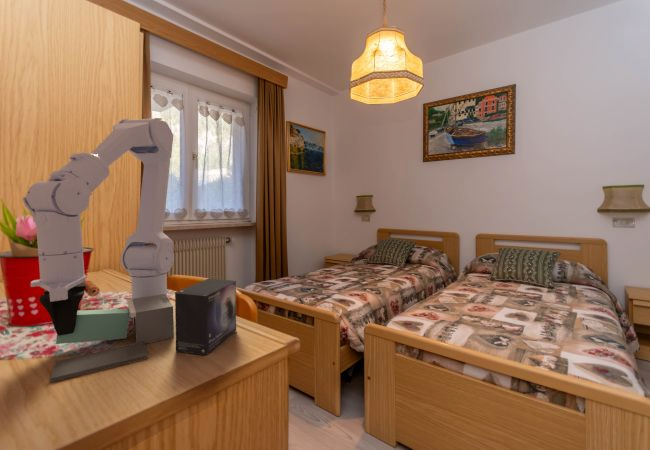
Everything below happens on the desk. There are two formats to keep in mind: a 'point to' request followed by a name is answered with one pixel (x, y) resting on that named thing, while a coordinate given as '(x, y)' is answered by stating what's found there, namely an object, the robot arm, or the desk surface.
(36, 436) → the desk surface
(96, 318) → the green block
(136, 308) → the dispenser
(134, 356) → the mat
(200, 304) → the small box
